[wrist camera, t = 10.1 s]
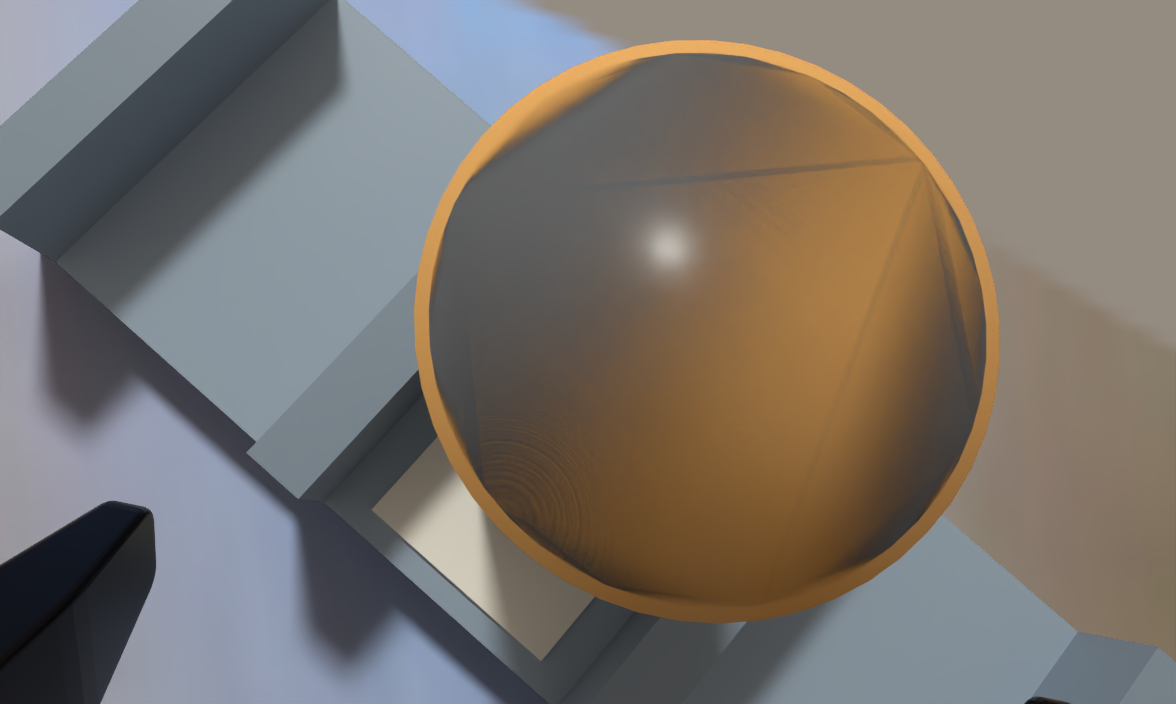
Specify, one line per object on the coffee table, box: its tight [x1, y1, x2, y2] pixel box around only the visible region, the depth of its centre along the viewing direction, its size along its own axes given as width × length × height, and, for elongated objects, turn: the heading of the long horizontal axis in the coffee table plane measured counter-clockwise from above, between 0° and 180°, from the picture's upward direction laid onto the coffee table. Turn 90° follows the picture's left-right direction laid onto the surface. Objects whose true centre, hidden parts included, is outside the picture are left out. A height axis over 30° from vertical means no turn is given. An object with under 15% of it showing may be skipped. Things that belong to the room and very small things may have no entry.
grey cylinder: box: [414, 40, 1000, 624], centre depth 13 cm, size 4×4×13 cm
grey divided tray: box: [0, 0, 1176, 704], centre depth 19 cm, size 8×23×4 cm, turn 49°
